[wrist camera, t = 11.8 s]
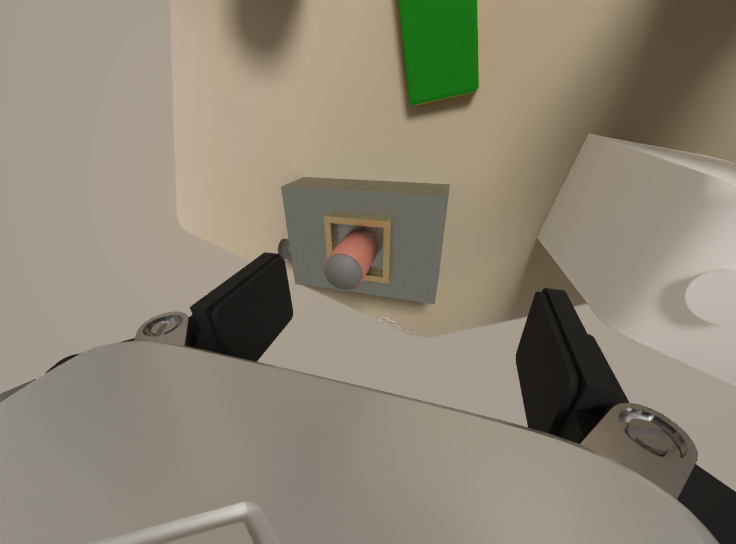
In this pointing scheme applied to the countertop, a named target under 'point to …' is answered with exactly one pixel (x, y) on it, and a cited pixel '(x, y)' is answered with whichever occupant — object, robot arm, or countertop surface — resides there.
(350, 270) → the oil can
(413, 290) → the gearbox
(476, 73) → the dish sponge
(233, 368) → the robot arm
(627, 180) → the milk
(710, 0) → the countertop surface
